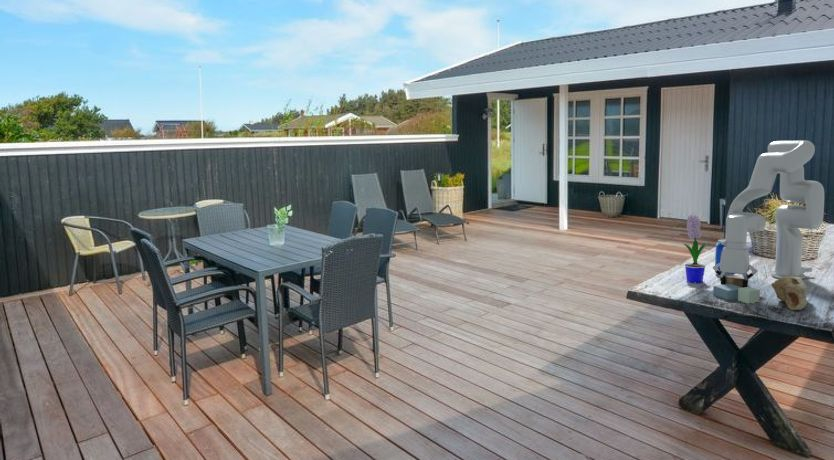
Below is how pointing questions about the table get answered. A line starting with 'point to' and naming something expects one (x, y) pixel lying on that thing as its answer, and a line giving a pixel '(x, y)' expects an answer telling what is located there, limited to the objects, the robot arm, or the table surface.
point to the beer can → (718, 255)
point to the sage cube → (748, 295)
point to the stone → (791, 292)
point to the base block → (726, 291)
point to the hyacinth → (694, 251)
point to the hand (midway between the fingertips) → (733, 287)
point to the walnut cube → (734, 280)
